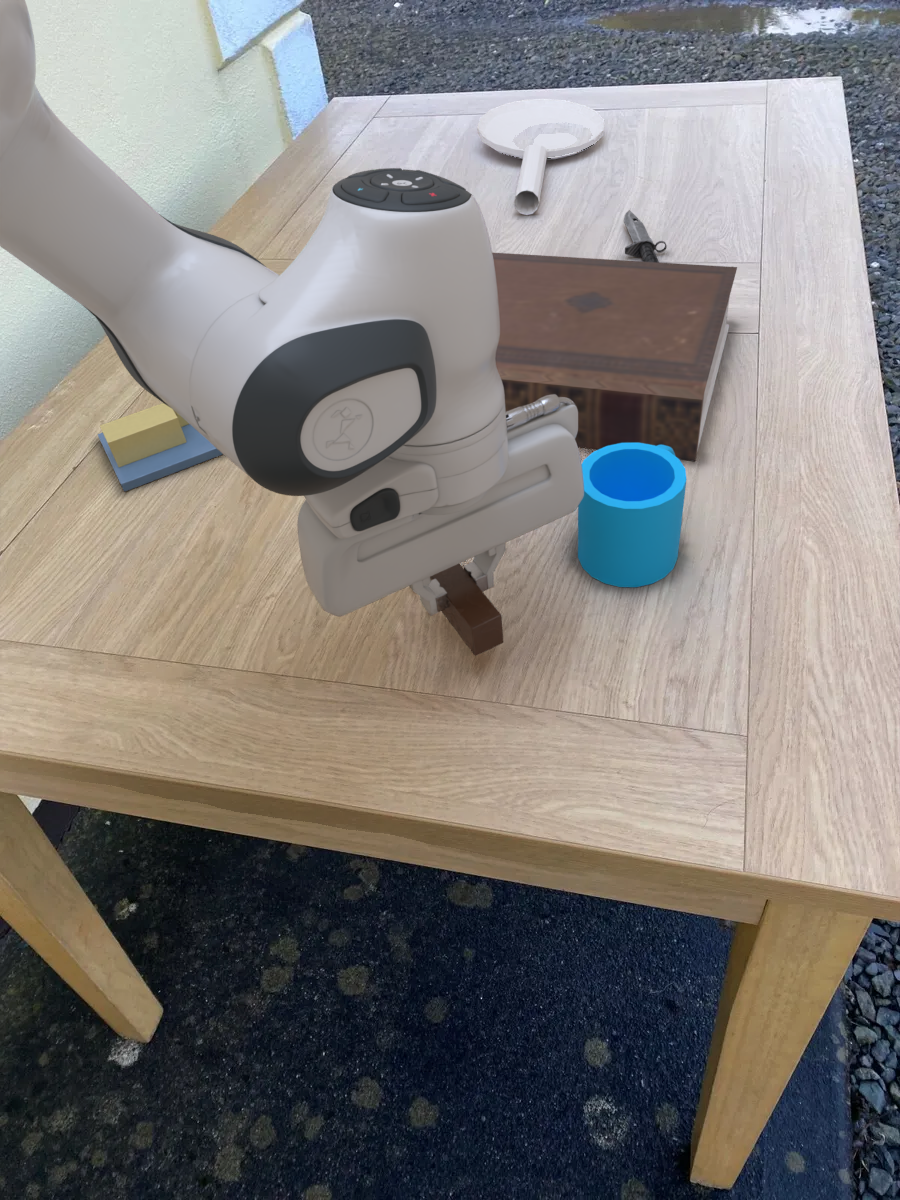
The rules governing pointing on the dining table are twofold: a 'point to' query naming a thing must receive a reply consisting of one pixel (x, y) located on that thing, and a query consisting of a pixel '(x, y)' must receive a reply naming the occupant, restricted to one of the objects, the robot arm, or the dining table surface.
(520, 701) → the dining table surface
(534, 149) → the frying pan
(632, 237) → the knife
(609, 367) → the book
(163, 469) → the butter dish
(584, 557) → the mug
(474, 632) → the butter knife
